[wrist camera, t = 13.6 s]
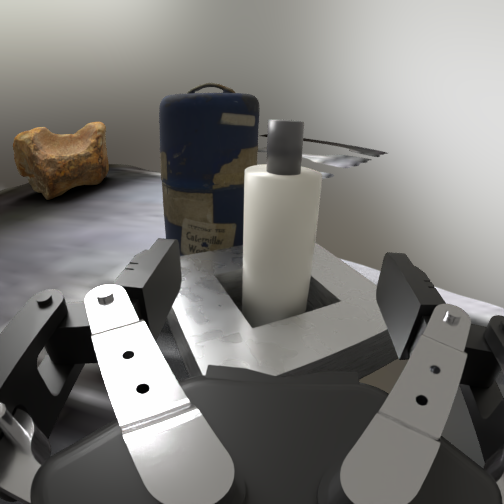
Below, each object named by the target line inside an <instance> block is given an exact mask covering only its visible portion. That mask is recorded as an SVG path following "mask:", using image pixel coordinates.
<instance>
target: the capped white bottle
mask: <svg viewBox="0 0 504 504" xmlns="http://www.w3.org/2000/svg"><path fill="white" fill-rule="evenodd" d="M303 129H304V122H301V121H292V120H268V142H267V143H268V144H267V164H264V165H255V166H250V167H248V168H246V169H245V177H244V226H243V285H242V315H243V316H244V317H245V319H246V320H247V322H248V323H249V324H250V326H251V327H252V328H256V327H259V326H263V325H266V324H270V323H273V322H277V321H280V320H283V319H287V318H290V317H293V316H297V315H300V314H303V313H305V312H306V306H307V299H308V292H309V285H310V278H311V271H312V263H313V255H314V247H315V239H316V230H317V222H318V213H319V203H320V192H321V183H322V174H321V173H320V172H318V171H316V170H313V169H310V168H306V167H301V161H302V145H303Z"/></svg>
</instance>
